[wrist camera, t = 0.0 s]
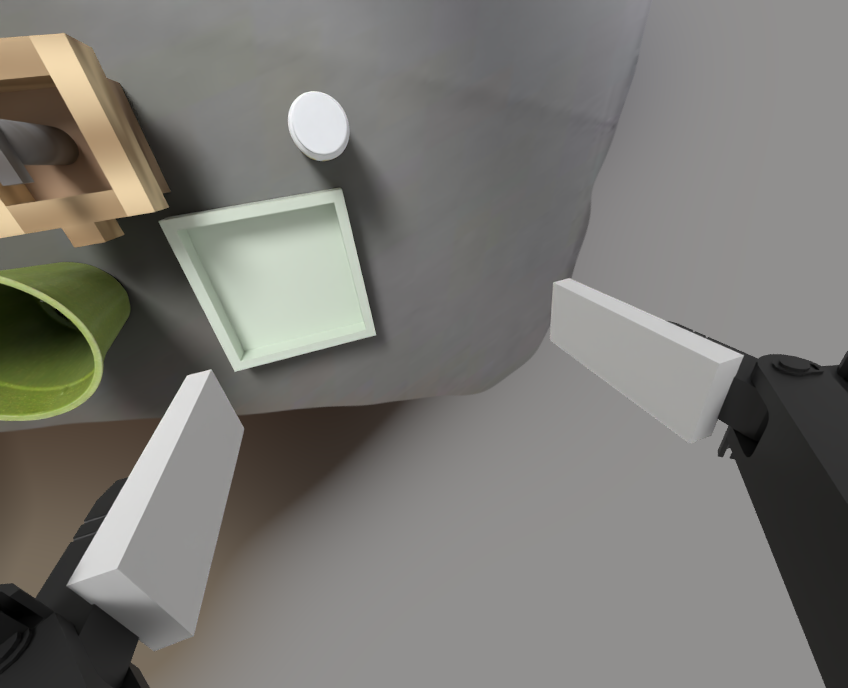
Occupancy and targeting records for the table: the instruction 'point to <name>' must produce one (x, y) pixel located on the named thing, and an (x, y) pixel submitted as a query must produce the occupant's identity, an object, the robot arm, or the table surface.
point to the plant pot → (55, 336)
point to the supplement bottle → (318, 126)
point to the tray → (275, 275)
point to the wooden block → (56, 145)
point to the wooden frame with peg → (101, 127)
